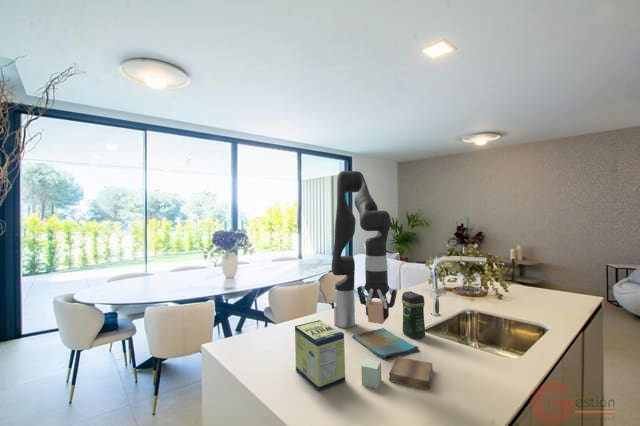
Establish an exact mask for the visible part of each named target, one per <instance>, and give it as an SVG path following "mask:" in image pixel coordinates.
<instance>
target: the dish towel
mask: <svg viewBox="0 0 640 426" xmlns="http://www.w3.org/2000/svg"><path fill="white" fill-rule="evenodd" d="M351 338H352V339H353V340H355V341H356V342H357V343H359V344H360V345H362V346H363V347H365V348H366V349H368V350H369V352H371V353H373V354H374V355H375V356H377V357H378V358H381V360H383V361H388V360H391V359H396V357H403V356H406V355H411V354H412V355H413V354H414V353H415V354H416V353H418V352H419V351H420V349H419V346H418V345H413V344H412V343H410V342H409V341H406V340H405V339H403V338H402V337H400V336H398V335H396V334H394V333H393V332H391V331H389V330H387V329H386V328H384V327H381V328H378V329H373V330H370V331H364V332H360V333H355V334H352V336H351Z"/></svg>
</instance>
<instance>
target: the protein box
mask: <svg viewBox="0 0 640 426" xmlns="http://www.w3.org/2000/svg"><path fill="white" fill-rule="evenodd" d="M294 340H295V341H294V342H295V343H294V345H295V347H294V348H295V349H294V351H295V371H296V372H297V373H298V374H299V375H300V376H301V377H302V378H304V380H305V381H307V383H308V384H310V385H311V386H312V387H313V388H314V389H315V390H317V392H322V391H324V390H327V389H329V388H331V387H334V386H337V385H339V384H341V383H344V382H346V359H345V356H346V355H345V353H346V352H345V332H342V331H341V330H339V329H337V328H335V327H334V326H332V325H329V324H327V323H326V322H324V321H322V320H320V319H318V320H314V321H310V322H306V323H301V324H297V325H295V326H294Z"/></svg>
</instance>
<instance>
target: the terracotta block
mask: <svg viewBox="0 0 640 426" xmlns="http://www.w3.org/2000/svg"><path fill="white" fill-rule="evenodd" d="M383 309H384V306H383V303H382V302H381V300H380V301H379V300H372V302H370V303H369V304H368V316H367V321H368V322H367V323H373V324H380V325H383V324H384V323H385V322H386V320H384V313H383Z"/></svg>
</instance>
